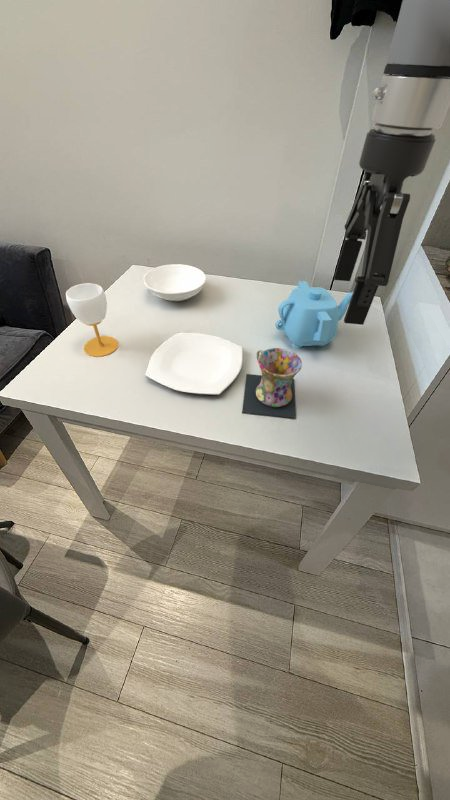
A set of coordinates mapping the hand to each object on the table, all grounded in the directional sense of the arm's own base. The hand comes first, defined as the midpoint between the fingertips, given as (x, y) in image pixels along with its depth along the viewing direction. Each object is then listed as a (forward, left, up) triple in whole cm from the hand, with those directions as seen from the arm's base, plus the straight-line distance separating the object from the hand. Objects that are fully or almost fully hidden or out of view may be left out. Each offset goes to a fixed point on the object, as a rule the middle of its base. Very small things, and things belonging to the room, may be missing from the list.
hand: (346, 299), depth 53 cm
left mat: (+5, +9, -29) cm, 30 cm away
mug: (+6, +9, -28) cm, 30 cm away
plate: (+13, +28, -29) cm, 42 cm away
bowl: (+47, +41, -29) cm, 69 cm away
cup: (+17, +55, -29) cm, 64 cm away
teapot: (+31, -2, -29) cm, 42 cm away
